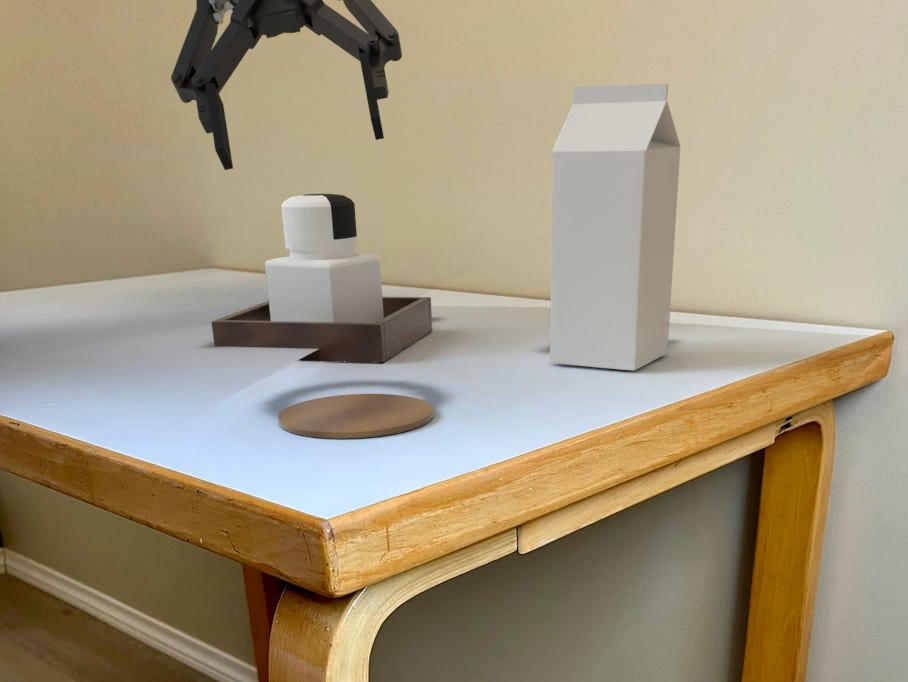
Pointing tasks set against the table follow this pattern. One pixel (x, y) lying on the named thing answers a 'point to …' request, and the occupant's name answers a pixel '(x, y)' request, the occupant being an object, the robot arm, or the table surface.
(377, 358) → the walnut frame box
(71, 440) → the table surface
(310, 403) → the cork coaster
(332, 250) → the medicine bottle
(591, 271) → the milk carton
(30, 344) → the table surface
